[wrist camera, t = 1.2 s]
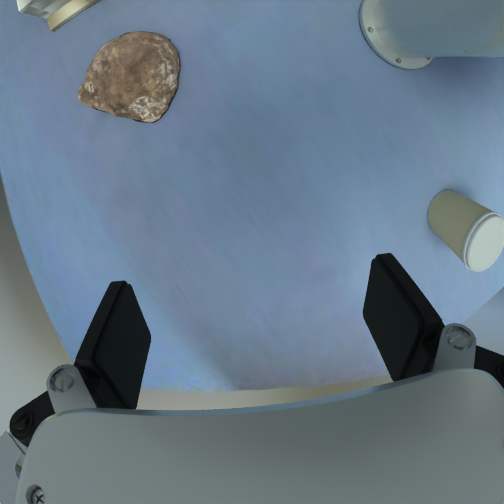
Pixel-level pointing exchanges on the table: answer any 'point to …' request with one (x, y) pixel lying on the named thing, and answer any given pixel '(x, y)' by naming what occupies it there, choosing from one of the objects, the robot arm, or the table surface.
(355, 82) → the table surface
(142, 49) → the shell
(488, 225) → the coffee cup
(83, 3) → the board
